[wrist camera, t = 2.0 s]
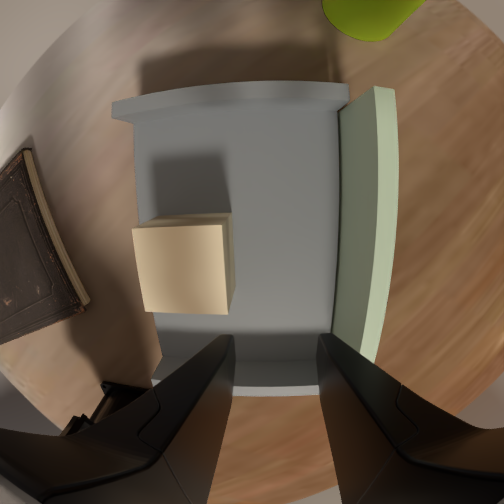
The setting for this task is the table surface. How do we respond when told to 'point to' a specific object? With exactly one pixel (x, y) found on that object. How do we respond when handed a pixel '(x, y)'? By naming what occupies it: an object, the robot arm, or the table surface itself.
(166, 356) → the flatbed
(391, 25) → the soap dispenser
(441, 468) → the robot arm
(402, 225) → the table surface
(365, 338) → the panel
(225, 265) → the beech block
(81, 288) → the hardcover book
